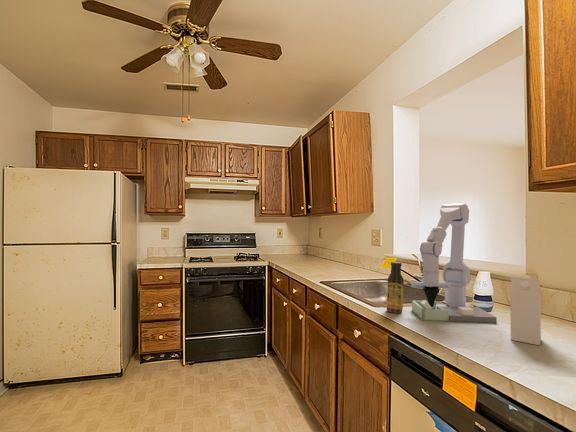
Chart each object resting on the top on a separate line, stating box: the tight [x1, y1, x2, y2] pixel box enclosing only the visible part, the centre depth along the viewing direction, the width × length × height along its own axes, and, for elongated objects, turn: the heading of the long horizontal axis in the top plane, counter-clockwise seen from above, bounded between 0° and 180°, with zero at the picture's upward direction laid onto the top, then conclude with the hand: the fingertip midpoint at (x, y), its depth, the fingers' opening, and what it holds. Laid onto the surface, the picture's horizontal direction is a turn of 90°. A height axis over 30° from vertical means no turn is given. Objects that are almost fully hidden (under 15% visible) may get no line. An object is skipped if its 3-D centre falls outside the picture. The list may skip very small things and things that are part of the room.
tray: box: [411, 300, 450, 322], centre depth 127 cm, size 14×9×4 cm, turn 174°
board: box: [436, 305, 497, 324], centre depth 125 cm, size 14×16×2 cm
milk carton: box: [509, 275, 542, 346], centre depth 101 cm, size 7×7×19 cm
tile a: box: [421, 299, 432, 309], centre depth 130 cm, size 4×4×2 cm
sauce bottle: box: [386, 261, 404, 314], centre depth 132 cm, size 7×6×20 cm
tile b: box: [458, 306, 474, 315], centre depth 122 cm, size 4×4×2 cm
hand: (430, 306), depth 129 cm, fingers closed
